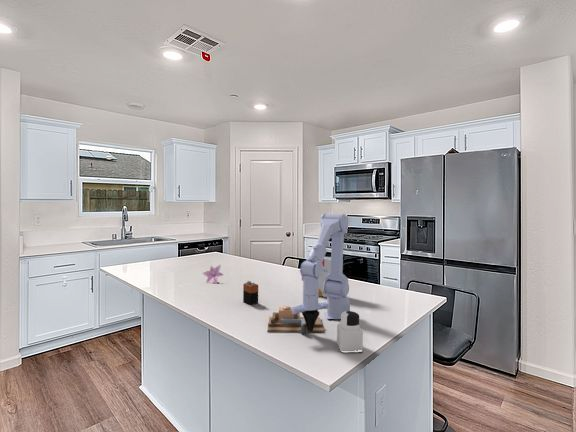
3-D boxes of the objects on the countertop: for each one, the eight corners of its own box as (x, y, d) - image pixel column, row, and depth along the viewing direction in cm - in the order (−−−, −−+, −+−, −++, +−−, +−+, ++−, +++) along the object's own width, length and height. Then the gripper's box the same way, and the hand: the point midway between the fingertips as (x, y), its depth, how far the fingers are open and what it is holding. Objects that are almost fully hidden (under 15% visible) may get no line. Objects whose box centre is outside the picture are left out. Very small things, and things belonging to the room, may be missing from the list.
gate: (304, 325, 127) (304, 317, 127) (306, 334, 119) (306, 325, 119) (280, 325, 127) (280, 317, 127) (280, 333, 119) (280, 325, 119)
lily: (201, 282, 198) (198, 270, 193) (216, 272, 206) (214, 260, 201) (213, 291, 192) (211, 279, 187) (229, 280, 200) (227, 269, 194)
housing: (319, 319, 135) (319, 312, 135) (323, 332, 121) (323, 324, 121) (269, 318, 135) (269, 311, 135) (267, 331, 121) (267, 324, 121)
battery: (250, 300, 160) (250, 280, 160) (258, 303, 155) (258, 282, 155) (242, 302, 157) (242, 281, 157) (251, 305, 152) (251, 284, 152)
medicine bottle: (357, 343, 112) (358, 309, 112) (362, 353, 105) (363, 316, 104) (336, 343, 112) (337, 309, 111) (340, 353, 105) (341, 316, 104)
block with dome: (293, 319, 132) (293, 305, 132) (293, 323, 128) (294, 309, 128) (278, 319, 132) (279, 305, 132) (278, 323, 128) (278, 308, 128)
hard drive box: (309, 295, 171) (310, 257, 170) (315, 291, 177) (315, 255, 177) (337, 299, 163) (338, 260, 163) (342, 295, 170) (343, 257, 169)
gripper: (321, 288, 126) (320, 323, 127) (288, 293, 119) (287, 329, 120) (331, 293, 120) (331, 329, 120) (297, 298, 113) (296, 336, 114)
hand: (310, 330), depth 120 cm, fingers closed
